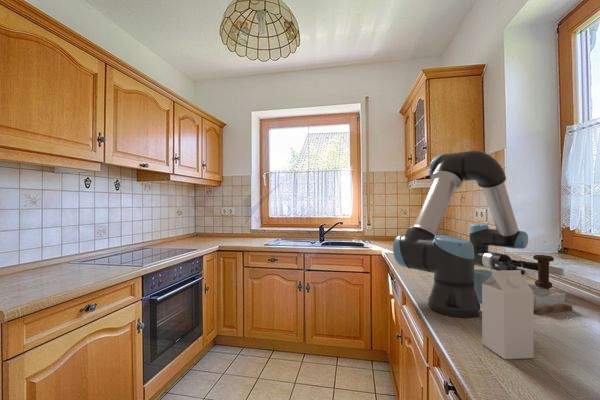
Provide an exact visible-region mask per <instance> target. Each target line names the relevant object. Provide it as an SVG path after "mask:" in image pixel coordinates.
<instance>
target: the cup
mask: <svg viewBox="0 0 600 400" xmlns="http://www.w3.org/2000/svg"><path fill="white" fill-rule="evenodd" d="M492 271H493V270H490V269H479V268H474V289H475V292H476V295H477V298H478V302H479V304H480V303H481V304H482V284H483V283H484V282H485V281H486V280H487V279H489V278H490V277H491V276H492Z"/></svg>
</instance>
